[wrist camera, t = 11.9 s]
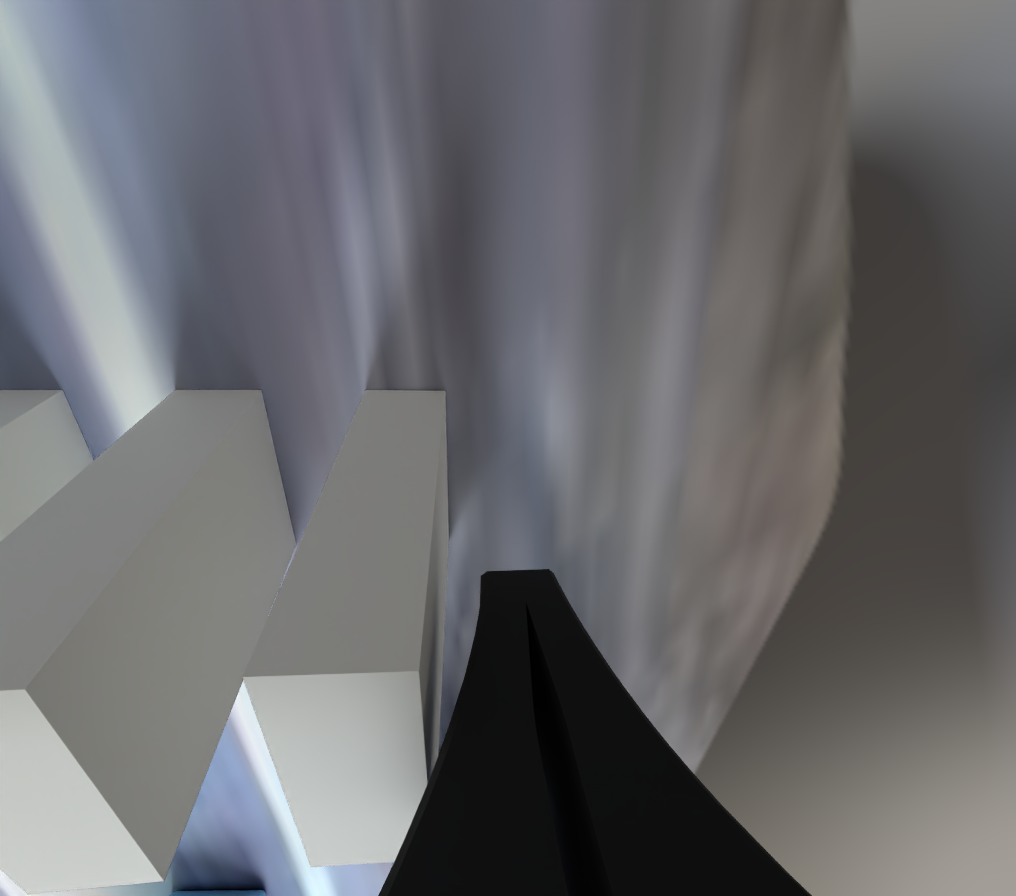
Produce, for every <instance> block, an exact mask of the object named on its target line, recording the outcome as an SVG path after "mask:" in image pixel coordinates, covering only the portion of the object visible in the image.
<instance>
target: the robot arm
mask: <svg viewBox="0 0 1016 896" xmlns="http://www.w3.org/2000/svg"><path fill="white" fill-rule="evenodd" d="M378 896H812V895H811V894H809V893H808V892H807V891H806V890H805V889H804V888H803V887H802V886H801V885H800V884H799V883H798V882H797V881H796V880H795V879H794V878H793V877H792V876H790V874H789V873H787V871H786V870H785V869H784V868H783V867H782V866H781V865H780V864H779V863H778V862H777V861H775V859H774V858H773V857H772V856H771V855H770V854H769V853H768V852H767V851H766V850H765V849H764V848H763V847H762V846H761V845H760V844H759V843H758V842H757V841H756V840H755V839H754V838H753V837H752V836H751V835H750V834H749V833H748V832H747V831H746V829H745V828H744V827H743V826H742V825H741V824H740V823H739V822H738V821H737V820H736V819H735V818H734V817H733V816H732V815H731V814H730V813H729V812H728V811H727V810H726V809H725V808H724V807H723V806H722V805H721V804H720V803H719V802H718V800H717V799H716V798H715V797H714V796H713V795H712V794H711V793H710V791H709V790H708V789H707V788H706V787H705V786H704V785H703V784H702V783H701V781H700V780H699V779H698V778H697V777H696V776H695V775H694V774H693V772H692V771H691V770H690V769H689V768H688V767H687V766H686V764H685V763H684V762H683V761H682V760H681V758H680V757H679V756H678V755H677V754H676V753H675V751H674V750H673V749H672V748H671V747H670V746H669V744H668V743H667V742H666V741H665V739H664V738H663V737H662V736H661V735H660V733H659V732H658V731H657V730H656V728H655V727H654V726H653V725H652V723H651V722H650V721H649V719H648V718H647V717H646V716H645V714H644V713H643V712H642V710H641V709H640V708H639V706H638V705H637V704H636V702H635V701H634V700H633V698H632V697H631V696H630V694H629V693H628V692H627V690H626V689H625V688H624V686H623V685H622V683H621V682H620V681H619V679H618V678H617V676H616V675H615V674H614V672H613V671H612V669H611V668H610V666H609V665H608V663H607V662H606V660H605V659H604V657H603V656H602V654H601V653H600V651H599V650H598V648H597V647H596V645H595V644H594V642H593V641H592V639H591V638H590V636H589V635H588V633H587V631H586V630H585V628H584V627H583V625H582V623H581V622H580V620H579V618H578V617H577V615H576V613H575V612H574V610H573V608H572V607H571V605H570V603H569V601H568V600H567V598H566V596H565V594H564V592H563V591H562V589H561V587H560V585H559V583H558V581H557V579H556V577H555V575H554V573H553V572H552V571H550V570H549V569H542V570H513V571H487V572H486V573H484V574H483V575H482V576H481V590H480V609H479V616H478V621H477V627H476V632H475V637H474V641H473V645H472V649H471V653H470V657H469V661H468V666H467V670H466V673H465V677H464V680H463V683H462V687H461V690H460V693H459V696H458V699H457V703H456V706H455V709H454V712H453V715H452V719H451V722H450V725H449V727H448V730H447V733H446V736H445V739H444V742H443V744H442V747H441V750H440V753H439V755H438V758H437V761H436V763H435V766H434V768H433V771H432V774H431V776H430V779H429V781H428V784H427V786H426V789H425V791H424V794H423V796H422V799H421V801H420V803H419V806H418V808H417V811H416V813H415V815H414V818H413V820H412V822H411V825H410V827H409V830H408V832H407V834H406V837H405V839H404V841H403V843H402V846H401V848H400V850H399V853H398V855H397V857H396V859H395V861H394V862H392V868H391V870H390V872H389V875H388V877H387V879H386V881H385V883H384V885H383V887H382V889H381V891H380V893H379V895H378Z"/></svg>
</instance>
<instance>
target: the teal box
mask: <svg viewBox="0 0 1016 896" xmlns="http://www.w3.org/2000/svg"><path fill="white" fill-rule="evenodd" d="M170 896H266V894H265V891H264V890H222V891H175V892H173V893H172V894H170Z"/></svg>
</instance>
